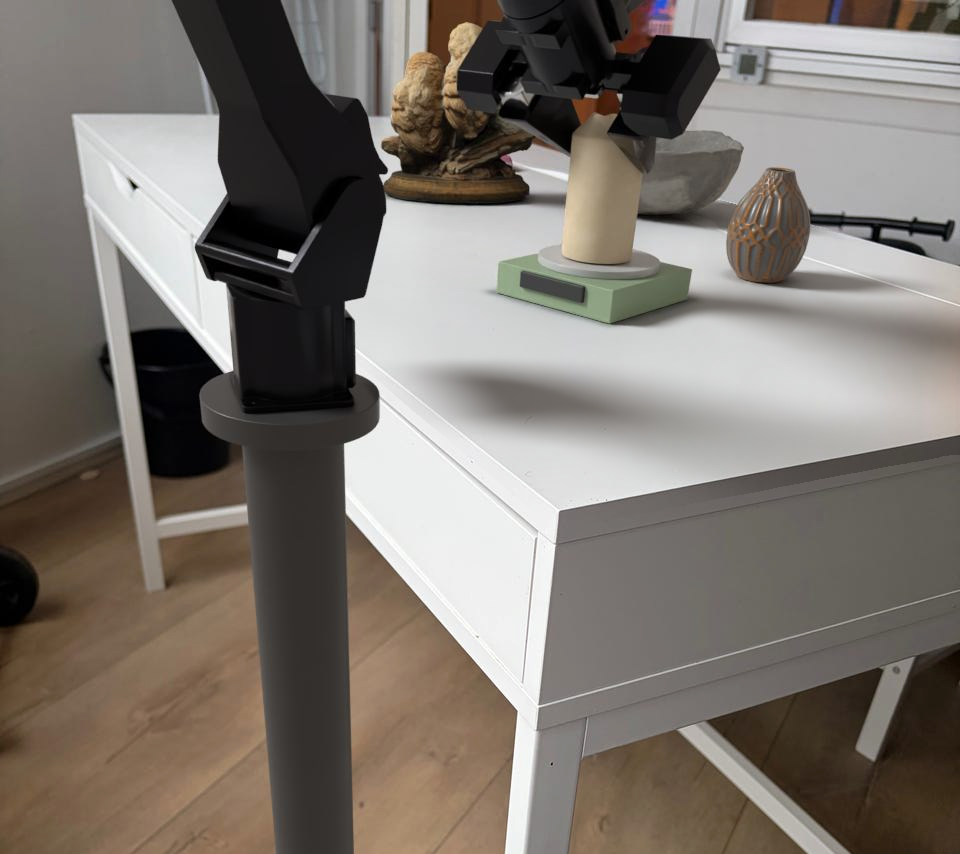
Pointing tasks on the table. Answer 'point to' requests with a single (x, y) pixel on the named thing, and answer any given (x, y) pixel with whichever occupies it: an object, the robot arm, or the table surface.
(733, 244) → the vase
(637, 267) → the scale
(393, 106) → the owl figurine
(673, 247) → the table surface
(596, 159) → the candle
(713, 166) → the bowl
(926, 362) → the table surface
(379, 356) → the table surface
